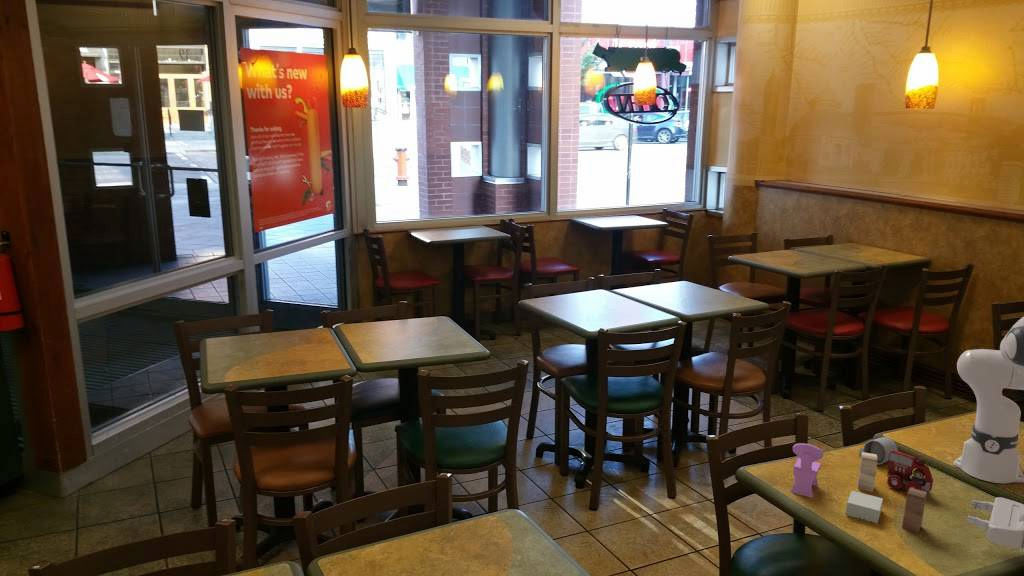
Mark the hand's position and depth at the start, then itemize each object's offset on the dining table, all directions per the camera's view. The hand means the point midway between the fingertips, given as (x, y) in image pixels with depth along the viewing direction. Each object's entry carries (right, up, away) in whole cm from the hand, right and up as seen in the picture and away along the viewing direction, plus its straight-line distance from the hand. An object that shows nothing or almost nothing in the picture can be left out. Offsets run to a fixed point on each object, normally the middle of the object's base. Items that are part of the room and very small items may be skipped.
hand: (969, 510), depth 196 cm
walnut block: (-10, -7, +9) cm, 15 cm away
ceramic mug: (-1, +2, +49) cm, 49 cm away
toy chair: (-31, -2, +29) cm, 43 cm away
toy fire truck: (0, -3, +30) cm, 31 cm away
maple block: (-12, -2, +31) cm, 33 cm away
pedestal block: (-20, -6, +16) cm, 26 cm away
